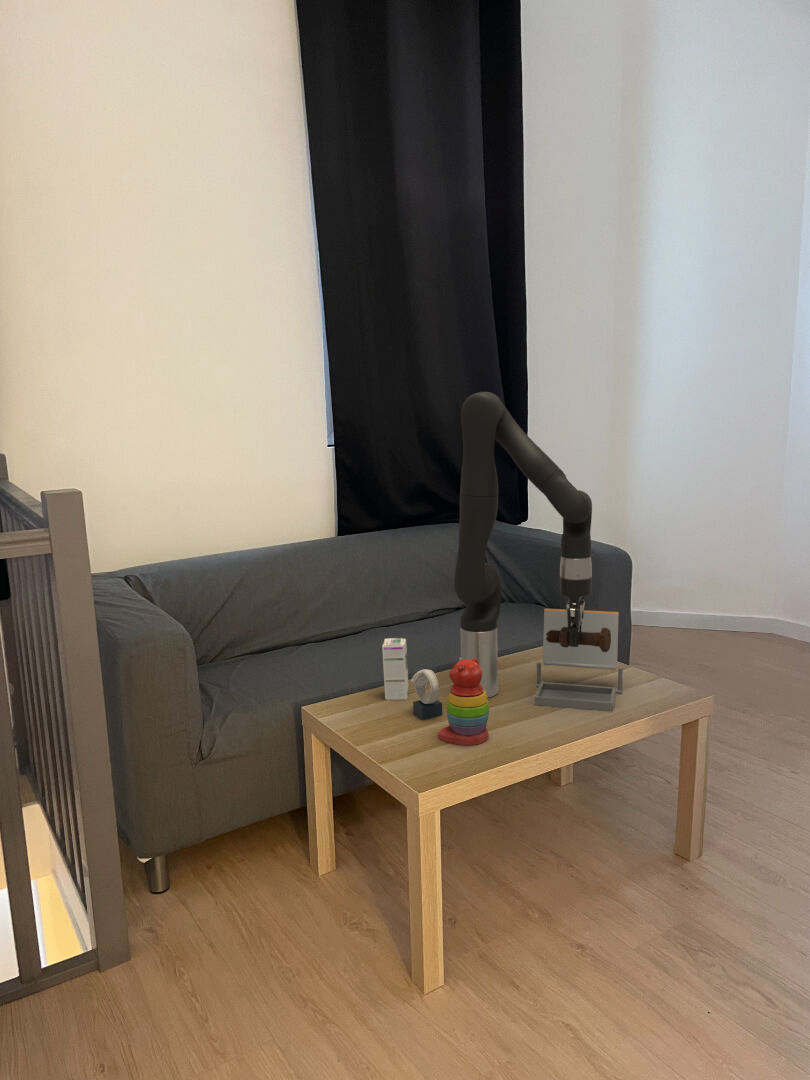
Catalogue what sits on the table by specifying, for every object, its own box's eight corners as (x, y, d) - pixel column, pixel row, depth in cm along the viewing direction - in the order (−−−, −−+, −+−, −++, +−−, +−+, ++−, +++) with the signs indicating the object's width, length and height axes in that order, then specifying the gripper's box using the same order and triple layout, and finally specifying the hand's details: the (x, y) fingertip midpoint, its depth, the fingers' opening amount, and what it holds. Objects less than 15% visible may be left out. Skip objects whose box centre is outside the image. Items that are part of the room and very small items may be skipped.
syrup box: (407, 700, 207) (405, 644, 205) (384, 700, 208) (381, 644, 205) (408, 691, 213) (407, 637, 210) (386, 691, 213) (384, 637, 211)
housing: (528, 704, 202) (528, 680, 201) (537, 683, 216) (537, 661, 215) (619, 711, 196) (619, 687, 195) (622, 689, 209) (622, 667, 208)
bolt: (550, 646, 206) (611, 650, 200) (544, 649, 202) (606, 653, 195) (550, 623, 206) (611, 626, 199) (544, 625, 202) (606, 629, 195)
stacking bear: (467, 723, 192) (465, 649, 189) (500, 735, 185) (499, 659, 181) (433, 737, 185) (431, 661, 182) (467, 750, 178) (465, 671, 174)
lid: (544, 608, 214) (544, 608, 216) (542, 664, 213) (543, 664, 215) (618, 612, 209) (618, 612, 210) (616, 670, 208) (616, 669, 209)
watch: (429, 706, 203) (428, 663, 200) (446, 717, 196) (445, 673, 194) (409, 711, 200) (407, 668, 198) (425, 722, 193) (424, 678, 191)
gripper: (589, 582, 190) (588, 652, 193) (594, 568, 204) (593, 635, 207) (556, 580, 192) (556, 650, 196) (563, 567, 206) (563, 633, 209)
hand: (575, 642), depth 201 cm, fingers closed on bolt, 5 cm apart
